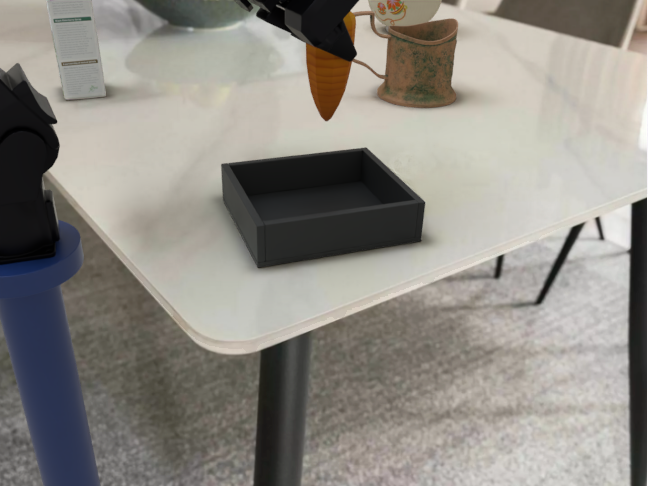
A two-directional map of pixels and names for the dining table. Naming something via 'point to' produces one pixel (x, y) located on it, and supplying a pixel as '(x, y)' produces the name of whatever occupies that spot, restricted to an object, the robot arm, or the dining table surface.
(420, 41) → the mug
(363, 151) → the tray
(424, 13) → the bowl
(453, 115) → the dining table surface
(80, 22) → the syrup box
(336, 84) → the carrot
